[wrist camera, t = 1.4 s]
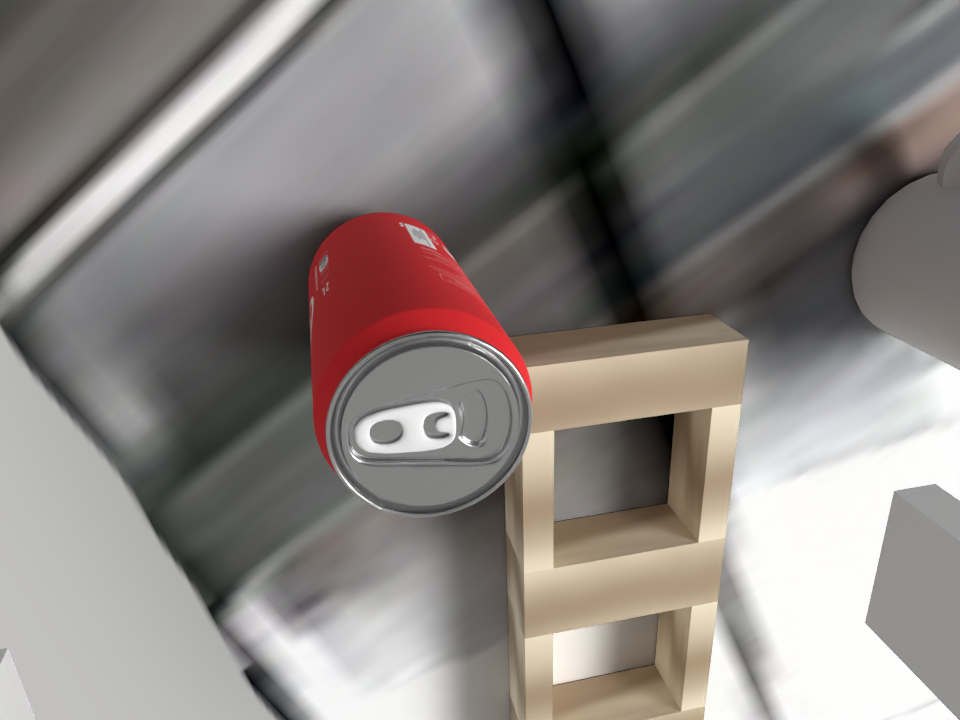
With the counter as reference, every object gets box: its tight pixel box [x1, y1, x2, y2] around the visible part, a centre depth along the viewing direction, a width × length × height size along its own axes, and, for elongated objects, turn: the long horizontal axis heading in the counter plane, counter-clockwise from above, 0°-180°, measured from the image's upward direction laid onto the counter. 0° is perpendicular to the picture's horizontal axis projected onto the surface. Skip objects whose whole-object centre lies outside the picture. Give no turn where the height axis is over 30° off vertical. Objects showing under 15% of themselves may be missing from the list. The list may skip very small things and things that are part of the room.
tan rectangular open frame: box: [505, 314, 749, 720], centre depth 33 cm, size 22×9×3 cm, turn 2°
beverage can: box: [309, 213, 533, 517], centre depth 22 cm, size 5×5×12 cm
